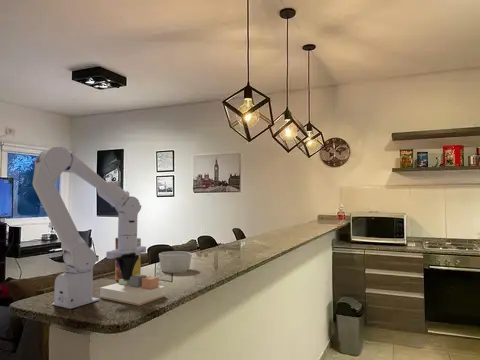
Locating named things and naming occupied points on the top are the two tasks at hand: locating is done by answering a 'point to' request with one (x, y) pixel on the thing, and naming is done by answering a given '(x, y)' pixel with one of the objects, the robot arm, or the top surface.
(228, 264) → the top surface
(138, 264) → the candy box
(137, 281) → the key slate
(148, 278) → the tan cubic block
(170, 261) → the ramekin
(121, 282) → the key sage
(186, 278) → the top surface
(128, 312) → the top surface
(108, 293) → the pad
